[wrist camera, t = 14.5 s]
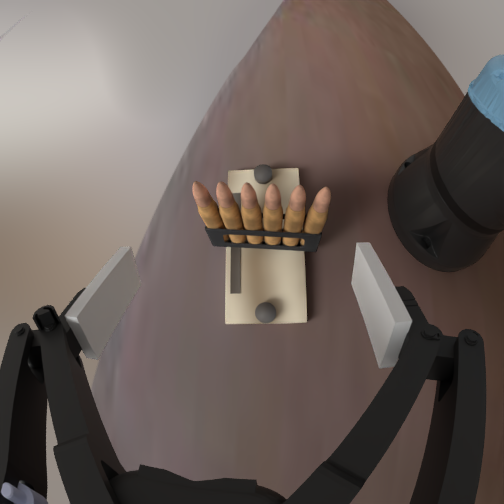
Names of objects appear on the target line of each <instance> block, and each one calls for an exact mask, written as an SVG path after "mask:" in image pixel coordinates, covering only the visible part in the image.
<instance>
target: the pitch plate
mask: <svg viewBox="0 0 504 504" xmlns="http://www.w3.org/2000/svg"><path fill="white" fill-rule="evenodd" d="M246 182H248V183H250V184H251V185H252V186H253V188H254V190H255V192H256V195H257V199H258V203H259V205H260V207H261V213H263V208H264V204H265V194H266V191H267V188H268V187H269V185H270V184H272V183H274V184H276V185H277V187H278V189H279V191H280V195H281V204H282V208H283V214H285V212H286V208H287V206H288V204H289V201H290V196H291V193H292V191H293V190H294V189H295V187H296V186H298V185H300V184H299V172H298V168H285V169H271V168H270V167H269V166H267V165H259V166H257V167H256V168H255V169H254V170H235V171H228V187H229V188H230V190H231V192H232V194H233V197H234V199H235V201H236V202H237V204H238V206H239V208H240V212H241V207H242V204H241V189H242V186H243V185H244V183H246ZM262 223H263V218H262ZM263 228H264V223H263ZM283 228H284V219H283V223H282V229H283ZM302 229H303V227H302ZM306 322H307V305H306V278H305V257H304V251H292V250H274V249H256V248H238V247H226V294H225V324H282V323H306Z"/></svg>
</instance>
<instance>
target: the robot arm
mask: <svg viewBox="0 0 504 504" xmlns="http://www.w3.org/2000/svg"><path fill="white" fill-rule="evenodd" d="M388 210H389V215H390V219H391V222H392V225H393V227H394V230H395V232H396V234H397V236H398V237H399V239H400V241H401V242H402V244H403V245H404V246H405V248H406V249H407V250H408V251H409V252H410V253H411V254H412V255H413V256H414V257H415V258H416V259H417V260H418V261H420V262H421V263H423V264H424V265H426V266H428V267H430V268H432V269H435V270H438V271H443V272H454V271H458V270H461V269H464V268H466V267H468V266H470V265H472V264H474V263H475V262H477V261H478V260H479V259H480V258H481V257H482V256H483V255H484V253H485V252H486V251H487V249H488V248H489V247H490V245H491V244H492V242H493V241H494V240H495V238H496V237H497V235H498V234H499V232H501V231H502V230H504V55H498V56H495V57H493V58H491V59H490V60H489V61H488V62H487V64H486V65H485V67H484V68H483V70H482V71H481V72H480V74H479V75H478V77H477V78H476V79H475V80H473V81H472V82H471V83H470V85H469V88H468V92H467V94H466V95H465V97H464V99H463V100H462V102H461V103H460V105H459V107H458V108H457V110H456V111H455V113H454V114H453V116H452V118H451V119H450V121H449V122H448V124H447V125H446V127H445V128H444V130H443V131H442V133H441V134H440V136H439V138H438V139H437V140H436V142H435V143H434V144H433V145H431V146H429V147H427V148H425V149H424V150H422V151H420V152H418V153H416V154H414V155H412V156H411V157H409V158H408V159H406V160H405V161H404V162H403V163H402V164H401V166H400V167H399V169H398V170H397V172H396V173H395V175H394V176H393V178H392V180H391V183H390V186H389V190H388ZM351 284H352V287H353V290H354V293H355V295H356V298H357V301H358V304H359V307H360V310H361V313H362V316H363V319H364V322H365V325H366V328H367V331H368V334H369V337H370V340H371V343H372V346H373V350H374V353H375V356H376V359H377V363H378V366H379V368H388V367H394V368H393V370H392V372H391V373H390V375H389V376H388V378H387V380H386V381H385V383H384V384H383V386H382V387H381V389H380V390H379V392H378V393H377V395H376V396H375V398H374V399H373V401H372V402H371V404H370V405H369V407H368V408H367V410H366V411H365V412H364V414H363V415H362V417H361V418H360V419H359V421H358V422H357V423H356V425H355V426H354V427H353V429H352V430H351V431H350V433H349V434H348V435H347V436H346V438H345V439H344V440H343V442H342V443H341V444H340V445H339V447H338V448H337V449H336V450H335V451H334V453H333V454H332V455H331V456H330V457H329V458H328V459H327V460H326V461H324V462H323V463H322V464H321V465H320V466H319V467H318V468H317V469H316V470H315V471H314V472H313V473H312V475H311V476H310V477H309V478H308V479H307V480H306V481H305V482H304V483H303V484H302V485H301V486H300V487H299V488H298V489H297V490H296V491H295V492H294V493H293V494H292V495H291V496H290V497H289V498H288V499H285V498H284V497H283V496H281V495H280V494H278V493H277V492H275V491H273V490H271V489H268V488H265V487H262V486H258V485H257V481H256V480H248V479H232V478H222V479H214V480H205V481H192V480H189V479H186V478H184V477H181V476H179V475H177V474H174V473H172V472H170V471H167V470H164V469H159V468H154V467H149V466H145V465H141V464H140V467H139V470H136V471H129V472H126V471H125V469H124V468H123V467H122V465H121V464H120V462H119V460H118V458H117V456H116V453H115V451H114V449H113V447H112V445H111V442H110V440H109V438H108V435H107V433H106V430H105V428H104V425H103V423H102V420H101V418H100V415H99V412H98V410H97V407H96V404H95V401H94V398H93V395H92V392H91V389H90V386H89V383H88V380H87V377H86V374H85V370H84V367H83V363H82V360H81V358H80V356H79V353H80V351H81V350H82V351H83V352H84V354H85V356H86V357H87V358H92V359H96V360H98V359H99V357H100V355H101V354H102V352H103V350H104V348H105V346H106V344H107V343H108V341H109V339H110V337H111V335H112V334H113V332H114V330H115V328H116V327H117V325H118V323H119V321H120V320H121V318H122V316H123V315H124V313H125V311H126V309H127V308H128V306H129V304H130V303H131V301H132V299H133V298H134V296H135V294H136V293H137V291H138V289H139V288H140V286H141V281H140V278H139V274H138V270H137V267H136V263H135V259H134V255H133V252H132V248H131V247H120V248H119V249H118V251H117V252H116V253H115V254H114V255H113V256H112V258H111V259H110V260H109V261H108V262H107V263H106V265H105V266H104V267H103V268H102V269H101V271H100V272H99V273H98V274H97V275H96V276H95V278H94V279H93V280H92V281H91V283H90V284H89V285H88V286H87V288H84V289H82V290H81V291H79V292H78V293H77V294H76V296H75V297H74V298H73V300H72V301H71V302H70V303H69V305H68V306H67V307H66V308H65V310H64V311H63V312H62V313H61V315H60V316H59V317H58V315H57V313H56V311H55V309H54V307H53V306H51V305H47V306H44V307H41V308H39V309H38V310H37V311H36V312H35V313H34V315H33V320H34V322H35V323H36V325H37V327H38V329H39V330H31V328H30V326H29V325H28V324H27V323H22V324H18V325H17V326H16V327H15V328H14V329H13V330H12V332H11V334H10V337H9V340H8V343H7V346H6V350H5V353H4V357H3V360H2V364H1V368H0V504H48V502H47V500H46V499H47V467H46V415H47V399H48V402H49V407H50V412H51V417H52V421H53V426H54V430H55V434H56V438H57V442H58V445H56V446H54V448H53V450H54V455H55V459H56V462H57V466H58V469H59V472H60V475H61V478H62V481H63V484H64V487H65V490H66V493H67V495H68V498H69V501H70V503H71V504H349V503H350V502H351V501H352V500H353V499H354V497H355V496H356V495H357V493H358V492H359V491H360V489H361V488H362V487H363V485H364V483H365V481H366V480H367V478H368V477H369V476H370V474H371V473H372V471H373V470H374V469H375V467H376V466H377V464H378V463H379V461H380V460H381V458H382V457H383V455H384V454H385V452H386V451H387V449H388V448H389V446H390V444H391V443H392V441H393V439H394V438H395V436H396V435H397V433H398V431H399V429H400V428H401V426H402V424H403V422H404V421H405V419H406V417H407V415H408V413H409V412H410V410H411V408H412V406H413V404H414V402H415V400H416V398H417V396H418V394H419V392H420V390H421V388H422V386H423V384H424V382H425V380H426V379H430V380H437V386H436V394H435V401H434V408H433V414H432V419H431V425H430V430H429V435H428V440H427V444H426V448H425V453H424V457H423V461H422V465H421V468H420V472H419V475H418V479H417V482H416V486H415V489H414V492H413V495H412V498H411V501H410V504H474V503H475V498H476V494H477V489H478V483H479V478H480V472H481V465H482V457H483V448H484V438H485V423H486V369H485V353H484V342H483V339H482V337H481V336H480V334H478V333H477V332H476V331H473V330H471V329H465V330H462V331H461V332H460V333H459V335H458V337H451V336H445V335H443V334H442V332H441V331H440V329H439V328H437V327H436V326H434V325H431V324H429V323H428V322H427V320H426V318H425V316H424V314H423V312H422V311H421V309H420V307H419V306H418V303H417V302H416V300H415V298H414V296H413V295H412V293H411V292H410V291H409V290H408V289H407V288H405V287H404V286H401V287H395V286H394V285H393V283H392V281H391V279H390V277H389V275H388V274H387V272H386V270H385V268H384V267H383V265H382V263H381V261H380V260H379V258H378V256H377V254H376V253H375V251H374V249H373V248H372V246H371V244H370V243H369V242H362V243H357V245H356V253H355V261H354V268H353V275H352V282H351ZM398 358H399V360H398ZM397 360H398V362H397ZM396 362H397V363H396Z"/></svg>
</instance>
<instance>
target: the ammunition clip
mask: <svg viewBox="0 0 504 504" xmlns="http://www.w3.org/2000/svg"><path fill="white" fill-rule="evenodd" d="M193 195H194V198H195V201H196V203H197V206H198V211H199V213H200V215H201V217H202V219H203V221H204V223H205V224H206V226H205V230H206V232H207V234H208V236H209V238H210V241H211V243H212V245H213V246H220V247H238V248H256V249H274V250H292V251H309V252H316V251H317V248H318V245H319V242H320V239H321V236H322V232H321V231H322V229H323V227H324V224H325V222H326V220H327V216H328V209H329V205H330V200H331V192H330V189H329V188H328V187H324V188H322V189H321V190H320V191H319V192H318V194H317V195H316V197H315V199H314V202H313V204H312V206H311V207H310V209H309V210H308V213H307V215H305V214H306V211H305V202H306V194H305V190H304V188H303V186H302V185H298V186H296V187H295V189H294V190H293V191H292V193H291V196H290V201H289V204H288V206H287V208H286V212H285V214H283V208H282V204H281V195H280V191H279V189H278V187H277V185H276V184H274V183H272V184H270V185H269V187H268V188H267V191H266V194H265V204H264V208H263V213H261V207H260V205H259V203H258V199H257V195H256V192H255V190H254V188H253V186H252V185H251V184H250V183H248V182H246V183H244V185H243V186H242V189H241V204H242V207H241V212H240V208H239V206H238V204H237V202H236V201H235V199H234V197H233V194H232V192H231V190H230V188H229V187H228V186H227V185H226V184H225V183H224V182H219V183H218V185H217V199H218V203H219V208H218V205H217V203H216V202H215V201H214V200H213V199H212V197H211V195H210V194H209V192H208V190H207V189H206V187H205V186H204V185H202V184H201V183H200V182H197V181H195V182H194V184H193ZM262 218H263V223H264V228H263V223H262ZM283 219H284V228H283V229H282V223H283ZM304 222H305V224H304V227H303V223H304ZM302 227H303V229H302Z"/></svg>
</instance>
